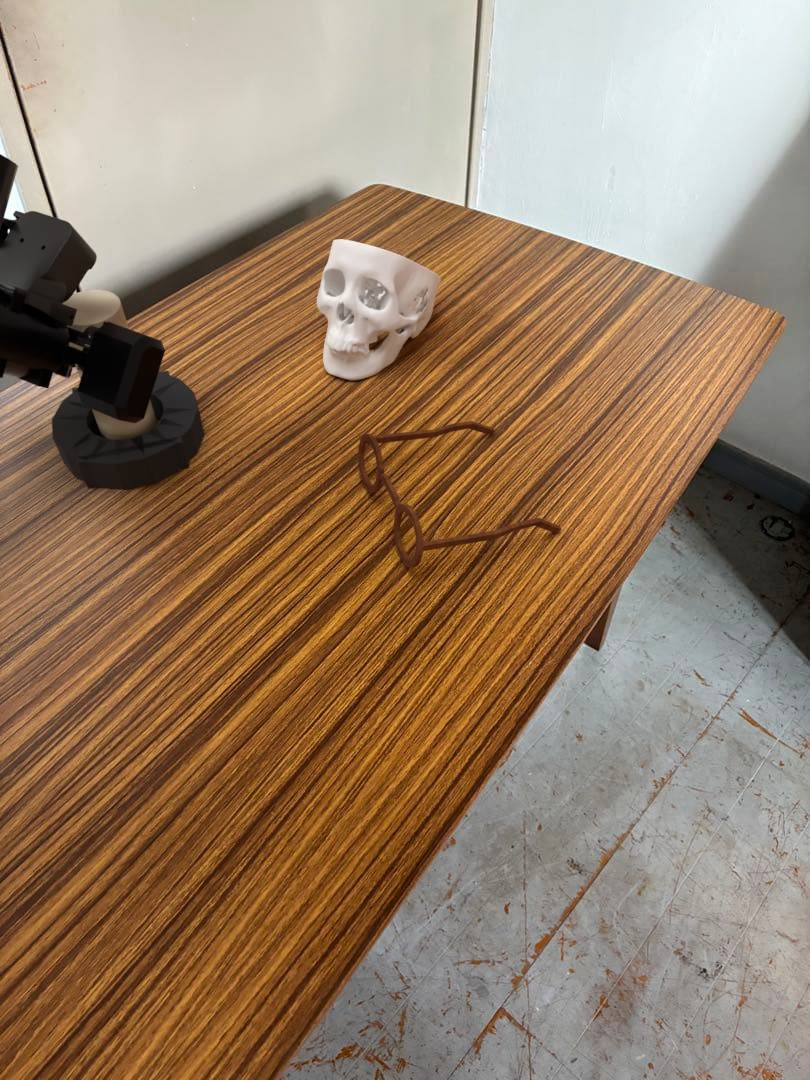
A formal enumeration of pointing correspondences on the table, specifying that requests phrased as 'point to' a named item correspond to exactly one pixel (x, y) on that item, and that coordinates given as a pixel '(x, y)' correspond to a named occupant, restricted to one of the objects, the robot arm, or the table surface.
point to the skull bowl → (371, 306)
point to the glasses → (410, 511)
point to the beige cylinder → (89, 313)
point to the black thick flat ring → (131, 439)
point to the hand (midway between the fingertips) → (122, 366)
